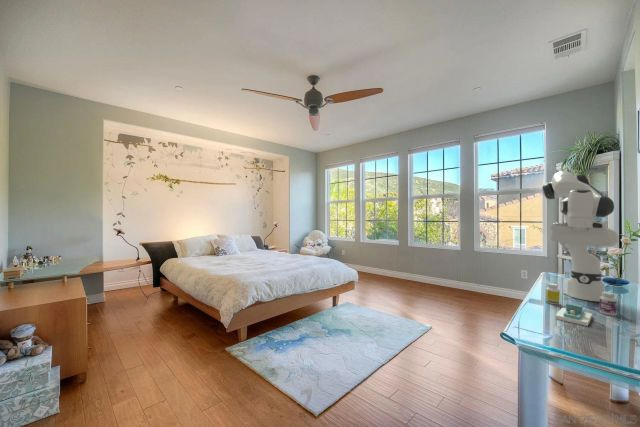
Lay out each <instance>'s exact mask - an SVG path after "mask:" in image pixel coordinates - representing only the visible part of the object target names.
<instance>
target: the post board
mask: <svg viewBox="0 0 640 427" xmlns="http://www.w3.org/2000/svg"><path fill="white" fill-rule="evenodd" d="M574 304H575V305H578V304H576V303H574ZM565 311H566V307H561V309H560V310H559V311H557V313H556V314H555V319H556V320H559V321H564V322H568V323H572V324H576V325H579V326H585V327H588V326H589V324H590V322H591V321H592V318H593V313H592V312H587V311H586V312H585V311H584V314H583V315H582V317H581V318H580V320H577V319H573V318H569V317H564V313H565ZM570 314H572V315H575V311H573V310H570Z"/></svg>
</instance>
